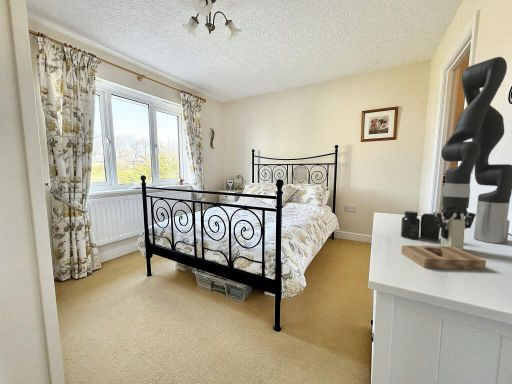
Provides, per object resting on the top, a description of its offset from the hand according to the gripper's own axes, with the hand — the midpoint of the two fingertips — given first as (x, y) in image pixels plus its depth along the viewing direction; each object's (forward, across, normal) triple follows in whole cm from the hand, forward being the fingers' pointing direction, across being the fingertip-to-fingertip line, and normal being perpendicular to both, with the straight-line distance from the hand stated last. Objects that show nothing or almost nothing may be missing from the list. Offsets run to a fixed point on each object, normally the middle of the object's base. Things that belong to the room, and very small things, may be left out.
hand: (451, 238), depth 83 cm
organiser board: (+4, +13, +12) cm, 18 cm away
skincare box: (+5, 0, 0) cm, 5 cm away
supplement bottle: (+5, +7, -14) cm, 16 cm away
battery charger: (+5, -1, -13) cm, 14 cm away
